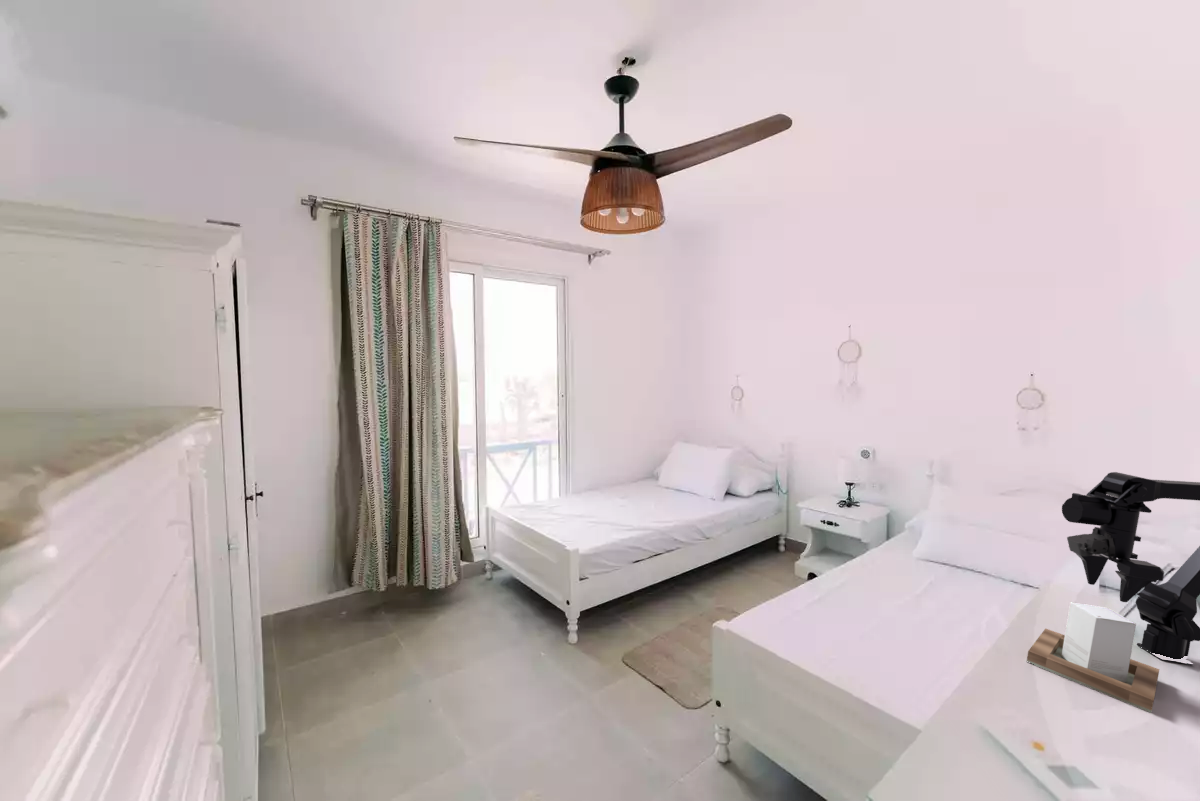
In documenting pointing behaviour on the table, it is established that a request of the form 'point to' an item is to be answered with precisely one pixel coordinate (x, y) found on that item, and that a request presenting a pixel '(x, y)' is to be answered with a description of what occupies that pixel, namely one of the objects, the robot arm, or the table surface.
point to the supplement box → (1099, 640)
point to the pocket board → (1096, 673)
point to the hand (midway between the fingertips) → (1106, 592)
